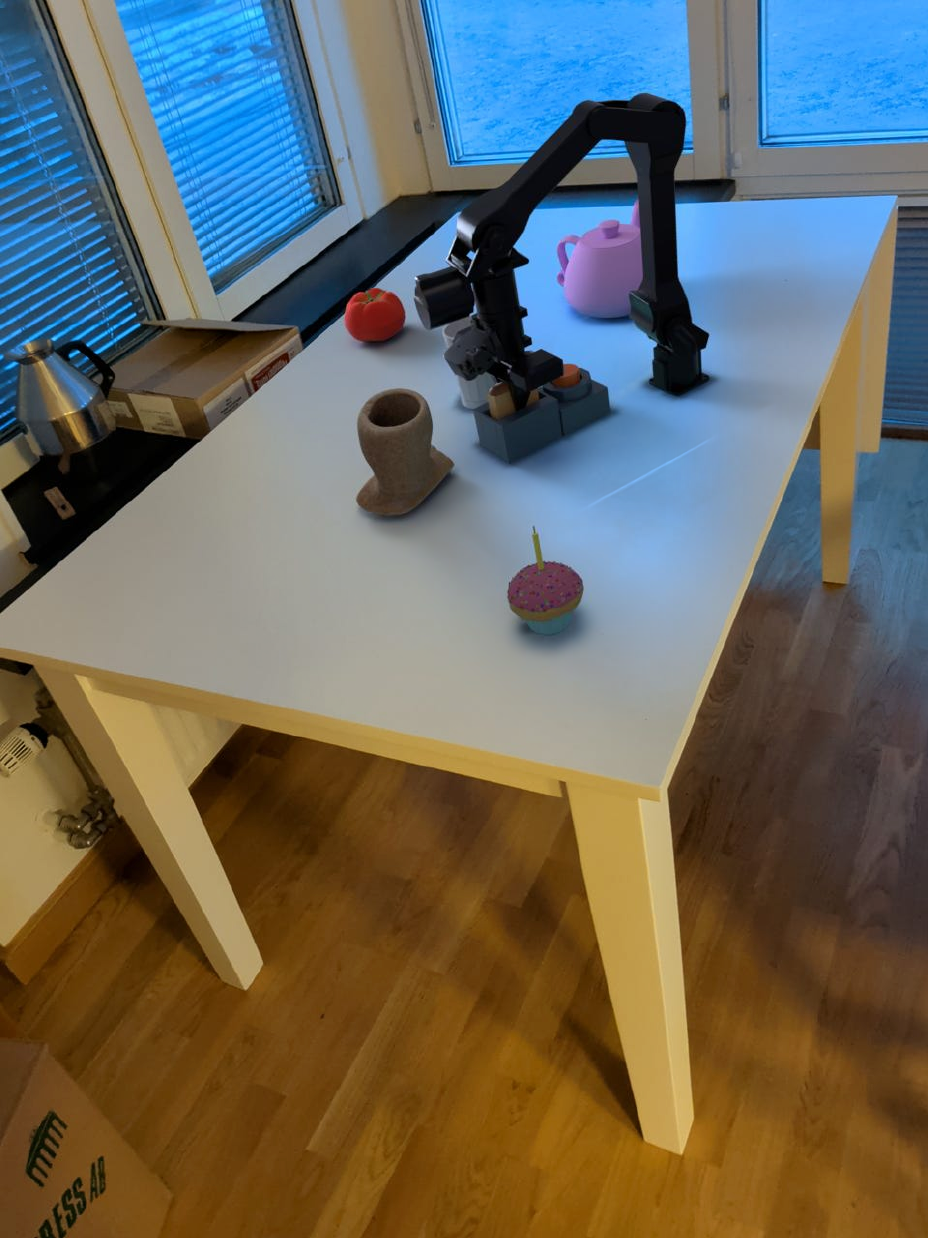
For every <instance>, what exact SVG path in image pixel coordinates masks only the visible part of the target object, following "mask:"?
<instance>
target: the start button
mask: <svg viewBox="0 0 928 1238" xmlns="http://www.w3.org/2000/svg"><path fill="white" fill-rule="evenodd" d="M563 365H564V375H563V376H561V377H559V378H557V379H555V380H553V381H552V384H553V385H554V386H556V387H568V386H572V385H574V384H576V383H578V382H579V381H580V373H579V368H580V367H579V366H578V365H576V364H574V363H563Z"/></svg>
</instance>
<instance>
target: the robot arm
mask: <svg viewBox="0 0 928 1238" xmlns="http://www.w3.org/2000/svg"><path fill="white" fill-rule="evenodd" d="M686 131H687V116H686V112H685V109H684V108H683V107H682V106H681V105H679V104H678V103H677V102H676V101H672V100H671V99H666V98H663V97H661V96H658V95H655V94H652V93H649V92H639V93H638V94H636V95H634V96H633V97H632V98H630V99H610V100H609V99H608V100H599V101H595V100H590V99H586V100H583V101H580V102H579V103H578V104H576V105H575V107H574V108H573V110H572V113H571V114H570V115H569V116H568V117H567V119H565V120H564V122H562V123H561V124H560V126H559V127H558V128H556V130H555V131H554V132H553V133H552V134H551V135H550V136H549V137H548V138H547V139H546V141H544V143H542V145H540V147H539V148H538V149H537V150H536V151H535V152H533V154H532V155H531V156H530V157H529V158H528V159H527V160H526V161H525V162H524V163H523V164H522V165H521V166H520V167H519V168H518V169H517V170H516V172H515V173H513V175H512V176H510V178H509V179H507V180H506V181H505V182H504V183H503V184H501V185H499V186H497V187H495V188H493V189H490V190H488V191H486V192H484V193H483V194H481V195H480V196H479V197H478V198H476V199H474V200H473V201H472V202H471V203H469V204H468V205H466V207H464V208H463V209H462V210H461V211H460V213H459V215H458V217H457V219H456V233H455V236H454V238H453V241H452V244H451V246H450V249H449V252H448V253H447V256H446V258H445V263H446V264H447V265H448V266H447V267H444V268H441V269H439V270H435V271H432V272H429V273H422V274H419V275H416V276H415V277H414V281H415V286H414V297H413V302H414V304H415V309H416V313H417V315H418V318H419V319H420V322H421V324H422V325H423V327H424V329H425V330H426V331H428V332H430V331H432V330H435V329H438V328H441V327H445V326H446V325H447V324H449V323H452V322H455V321H458V320H461V319H464V318H467V317H469V315H471V317H472V319H471V320H470V322H471V326H469V327H467V328H464V329H462V330H460V331H458V332H456V334H455V336H454V338H453V340H452V342H453V345H452V346H451V347H450V348H448V349H447V348H446V350H445V351H444V353H443V355H442V357H443V359H444V360H445V361H446V363H447V365H448V366H449V367H450V369H451V371H452V372H453V374H454V375H455V374H456V375H458V376H460V377H462V378H464V379H465V380H466V381H472V380H474V379H475V378H476V377H477V376H478V375H483V374H484V373H485V372H487V373H488V374H489V375H490V376H491V378H492V380H493V382H494V383H495V385H496V384H498V383H500V382H502V381H503V382H505V383H507V384H508V387H509V391H510V394H511V397H512V401H513V404H514V407H515V410H516V411H518V410H520V409H522V408H524V407H526V404H527V402H528V399H529V396H530V393H531V391H533V390H535V389H538V388H540V387H542V386H543V385H545V384H547V383H549V382H551V381H553V380H555V379H557V378H559V377H561V376H563V375H564V365H563V364H564V359H563V358H561V357H559V356H557V355H555V354H553V353H551V352H549V351H546V350H545V349H543V348H540V349H538V350H536V351H533V350H526V348H528V347H530V346H532V345H533V339H532V337H531V336H529V335H527V334H525V329H524V324H523V319H524V318H527V317H528V316H529V314H528V308H527V307H524V306H522V305H521V303H520V298H519V297H520V296H519V292H518V284H517V279H516V273H515V269H518V268H521V267H524V266H527V265H528V264H530V259H529V258H528V257H527V256H526V255H524V254H523V253H521V252H519V251H518V250H517V249H516V248H515V247H514V246H515V245H516V244H517V242H518V241H519V239H520V238H521V237H522V235H523V234H524V232H525V230H526V226H527V224H528V222H529V219H530V217H531V215H532V214H533V212H534V211H535V210H536V208H537V207H538V206H539V205H540V204H541V203H542V202H543V201H544V200H545V199H546V198H547V197H548V196H549V195H550V193H552V191H554V189H556V187H557V186H558V185H559V184H561V182H562V181H563V180H564V179H565V178H566V177H567V176H568V175H569V174H570V173H571V172H572V171H573V170H574V169H575V168H576V167H577V166H578V165H579V164H580V163H581V162H582V161H583V159H584V158H585V157H586V156H587V155H589V153H590V152H591V151H592V150H593V149H594V148H595V147H596V146H597V145H598V144H599V143H600V142H601V141H621V142H624V147H625V150H626V152H627V154H628V157H629V159H630V161H631V163H632V166H633V168H634V171H635V173H636V182H637V197H638V198H637V199H638V202H639V219H640V236H641V252H642V269H643V279H642V282H641V284H640V286H639V288H638V290H635V291H630V292H629V299H630V304H631V311H630V315H628V318H629V319H631V320H632V321H633V322H634V325H635V327H636V328H637V329H638V330H640V331H641V332H642V333H644V334H646V337H647V338H648V339H649V340H651V341H653V342H655V343H656V346H654V347H652V351H653V358H652V360H651V365H652V366H651V367H652V376H653V377H651V378H650V379H648V384H649V385H651V386H653V387H656V388H658V389H660V390H662V391H664V392H666V393H668V394H671V395H673V396H676V397H679V396H681V395H683V394H684V393H686V392H689V391H691V390H692V389H695V388H696V387H698V386H700V385H702V384H704V383H706V382H707V381H709V380H710V375H709V374H706V373H704V372H703V369H702V350H705V349H706V348H707V346H708V342H709V338H710V333H709V332H707V331H706V330H704V329H703V328H702V327H700V326H698V325H696V324H695V323H694V322H693V316H692V312H691V307H690V302H689V298H688V296H687V294H686V292H685V290H684V287H683V285H682V283H681V280H680V277H679V261H678V259H679V258H678V239H677V238H678V237H677V236H678V235H677V232H678V231H677V209H676V206H677V205H676V184H675V183H676V181H675V180H676V179H675V171H676V167H677V165H678V162H679V160H680V159H681V156H682V154H683V151H684V150H685V149H684V148H685V139H686ZM470 252H472V253H473V254H474V256H473V258H470V257H469V256H468V255H469V253H470ZM474 307H475V308H474ZM475 309H476V313H474V312H475Z"/></svg>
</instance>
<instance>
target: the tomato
mask: <svg viewBox="0 0 928 1238" xmlns="http://www.w3.org/2000/svg"><path fill="white" fill-rule="evenodd" d="M344 313H345V314H344V318H343V320H344V326H345V328H346V330H347V333H349V335H350V336H351V337H352V338H353V339H355V340H357V341H358V342H363V343H371V342H384V341H386V340H388V339H390V338H392V337H393V336H394V335H396V334H397V333H399V332H400V331H401V330H402V329H403V327H404V325H405V322H406V318H407V317H406V309H405V307H404V304H403V302H402V300H401V299H400V298H399V296H398V295H397V294H395V293H394V292H393V291H388V289H386V290H384V289H382V288H379V287H372V288H370V289H368V290H365V292H362V291H360V292H357V293H355V294H354V295H352V297H351V298H350V299H349V301H348V302H347V304H346V307H345V312H344Z"/></svg>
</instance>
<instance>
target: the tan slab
mask: <svg viewBox="0 0 928 1238" xmlns="http://www.w3.org/2000/svg"><path fill="white" fill-rule="evenodd" d="M487 397H488V402H489V407H490V413H491V418H492V419H494V420H496V421H498V420H500V419H502V418H504V417H506V416H508V415H510V414H512V413H514V412H516V410H515V407H514V404H513V401H512V397H511V394H510V391H509V387H508V384H507V383H505V382H503V381H502V382H500V383H498V384H496V385H494V386H492V387H491V388H490V390H489V392H488V393H487ZM538 400H539V395H538V388H537V389H535V390H533V391H531V393H530V396H529V399H528V402H527V404H526V406H528V405H530V404H532V403H534V402H536V401H538Z"/></svg>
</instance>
